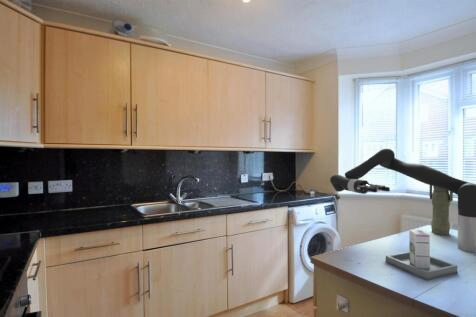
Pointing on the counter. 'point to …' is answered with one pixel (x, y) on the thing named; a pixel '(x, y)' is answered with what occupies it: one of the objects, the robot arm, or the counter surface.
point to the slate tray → (436, 268)
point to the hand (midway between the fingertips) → (382, 189)
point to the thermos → (440, 210)
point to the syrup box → (419, 248)
